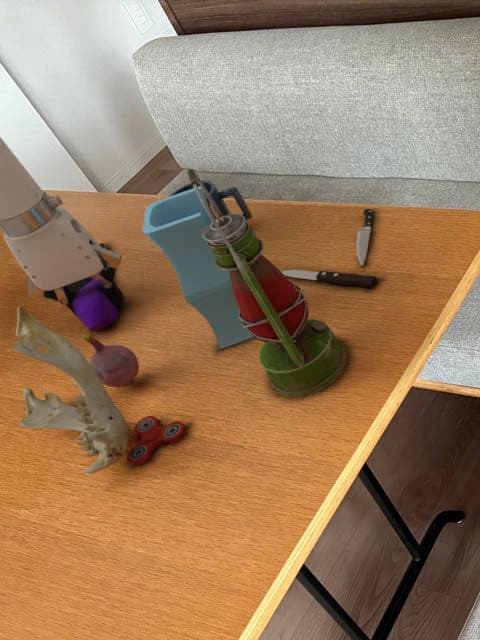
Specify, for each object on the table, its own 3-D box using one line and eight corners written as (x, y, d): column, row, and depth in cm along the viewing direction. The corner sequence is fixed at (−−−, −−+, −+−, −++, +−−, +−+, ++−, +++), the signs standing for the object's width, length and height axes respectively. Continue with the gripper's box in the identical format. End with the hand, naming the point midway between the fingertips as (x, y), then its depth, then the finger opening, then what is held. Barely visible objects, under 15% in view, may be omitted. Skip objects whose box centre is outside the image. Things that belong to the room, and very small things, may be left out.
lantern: (358, 380, 104) (249, 181, 82) (282, 417, 102) (150, 224, 81) (332, 322, 113) (228, 130, 92) (262, 355, 112) (139, 168, 90)
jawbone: (146, 391, 96) (51, 405, 89) (144, 507, 104) (58, 528, 98) (83, 297, 110) (-3, 303, 103) (87, 407, 119) (8, 418, 112)
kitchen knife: (372, 289, 116) (378, 280, 118) (369, 284, 116) (376, 275, 117) (276, 278, 124) (283, 269, 125) (273, 273, 123) (280, 264, 124)
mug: (194, 261, 132) (164, 216, 126) (194, 236, 138) (165, 191, 131) (259, 238, 133) (233, 192, 126) (257, 213, 138) (231, 168, 132)
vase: (272, 330, 115) (201, 215, 101) (220, 349, 115) (141, 236, 100) (270, 298, 120) (202, 185, 106) (220, 316, 120) (145, 204, 106)
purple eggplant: (101, 262, 130) (100, 305, 119) (120, 286, 133) (119, 330, 122) (73, 274, 129) (69, 319, 118) (92, 298, 133) (89, 344, 122)
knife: (351, 266, 120) (365, 267, 121) (351, 262, 120) (365, 264, 120) (361, 211, 130) (373, 212, 131) (361, 207, 130) (373, 209, 130)
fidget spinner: (122, 463, 101) (128, 469, 102) (177, 449, 101) (182, 455, 101) (135, 417, 106) (141, 423, 107) (187, 403, 106) (192, 409, 107)
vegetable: (128, 366, 116) (85, 316, 109) (159, 371, 114) (118, 319, 107) (101, 397, 113) (55, 347, 106) (132, 403, 110) (88, 351, 103)
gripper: (86, 182, 117) (156, 278, 130) (-26, 223, 116) (55, 315, 129) (81, 207, 112) (154, 304, 125) (-37, 250, 111) (49, 343, 124)
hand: (103, 309), depth 127 cm, fingers closed on purple eggplant, 4 cm apart
